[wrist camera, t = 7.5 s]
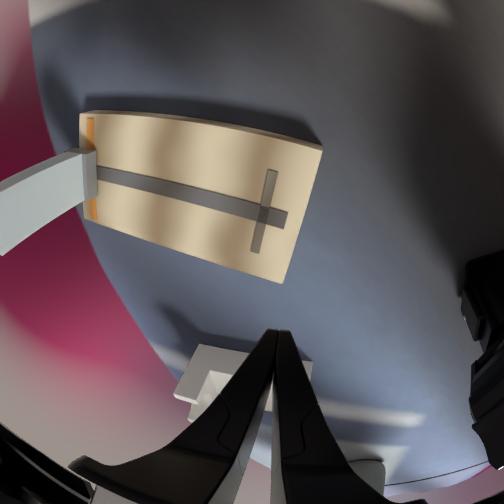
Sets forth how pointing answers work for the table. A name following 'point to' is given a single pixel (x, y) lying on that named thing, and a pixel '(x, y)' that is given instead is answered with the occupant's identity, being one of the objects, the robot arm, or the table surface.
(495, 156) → the table surface
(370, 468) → the lamp
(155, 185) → the slider board
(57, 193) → the fader tab
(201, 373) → the bracket
